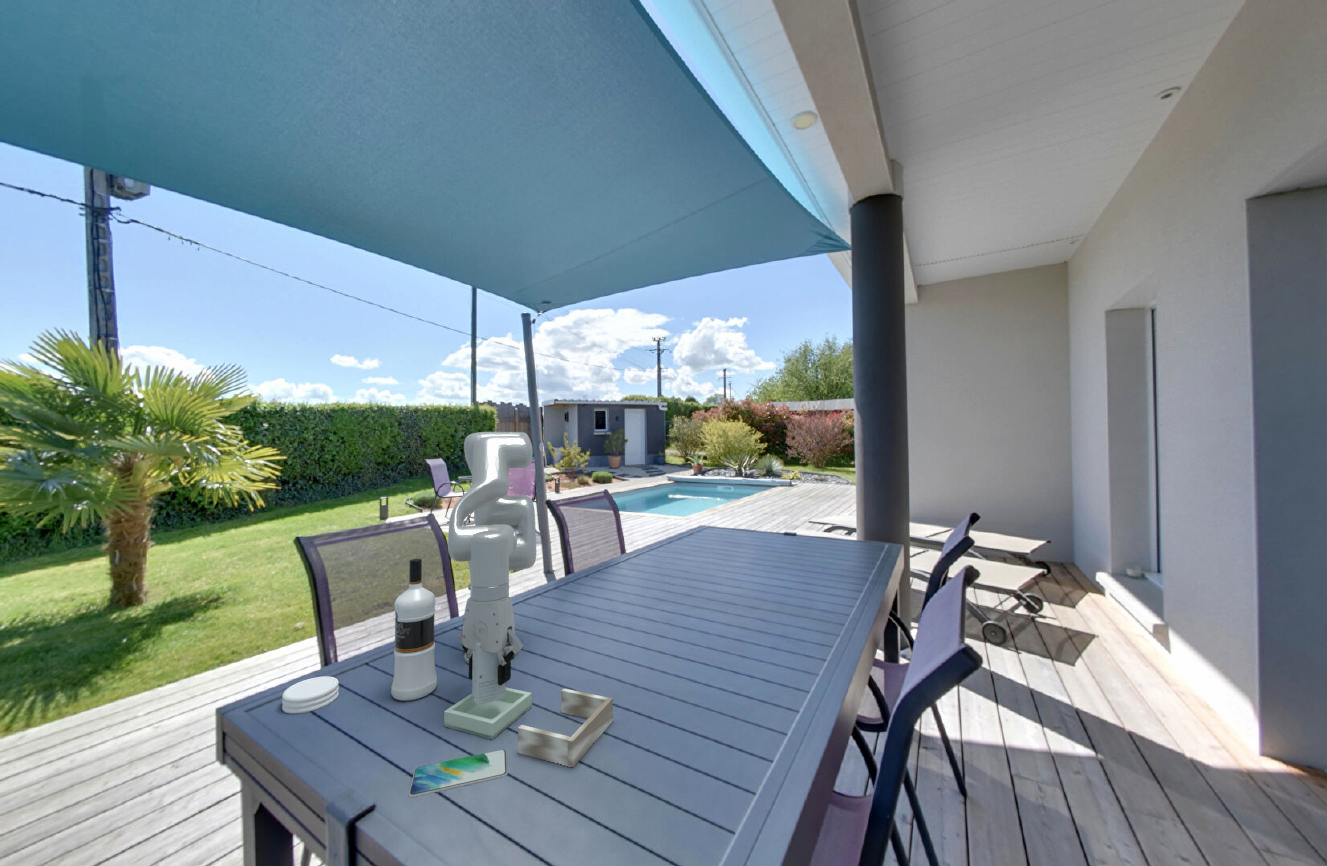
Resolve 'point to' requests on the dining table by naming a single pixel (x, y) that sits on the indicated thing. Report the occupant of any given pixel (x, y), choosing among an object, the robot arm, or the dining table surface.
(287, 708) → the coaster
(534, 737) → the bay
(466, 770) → the smartphone
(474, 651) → the skincare box
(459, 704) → the tray
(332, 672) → the dining table surface
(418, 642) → the vodka
